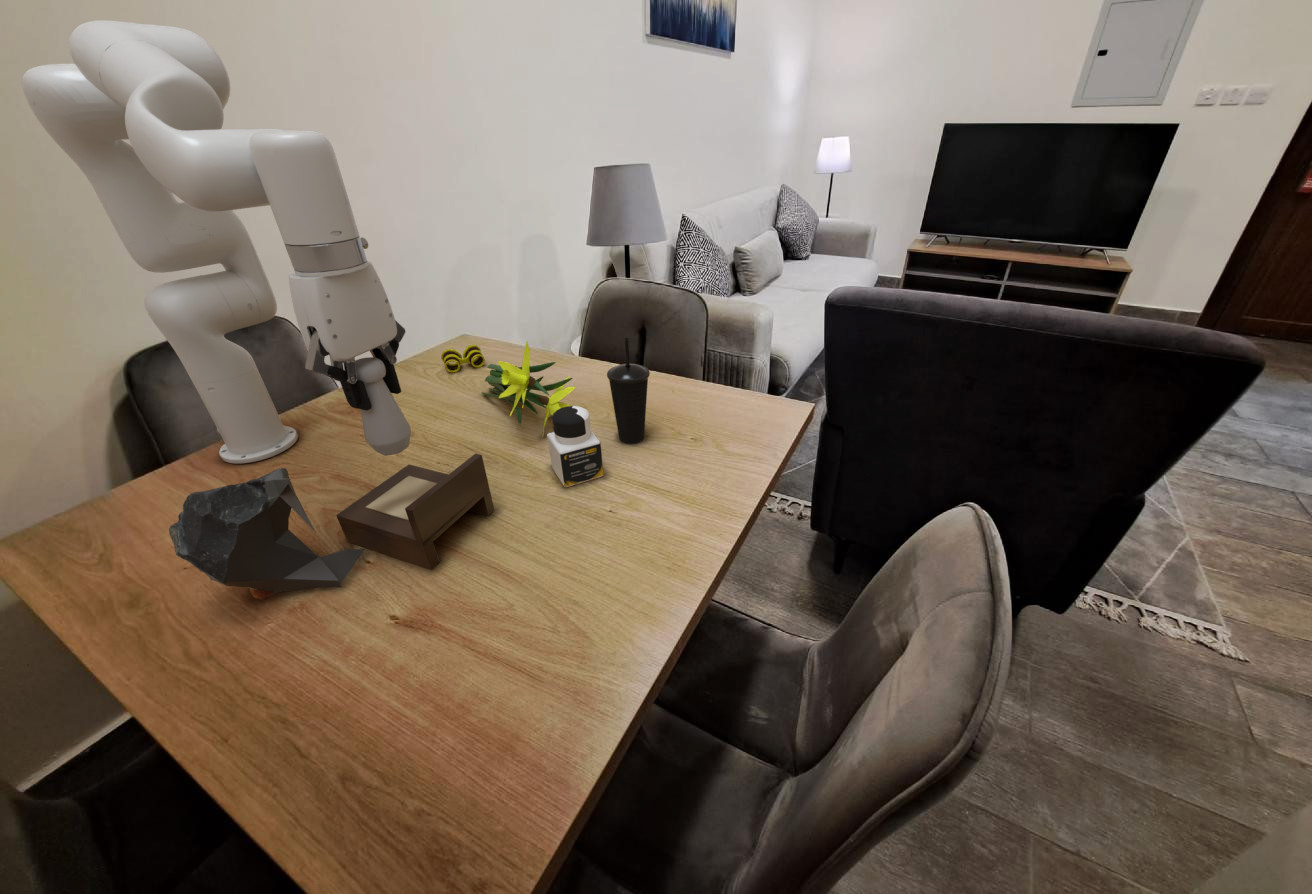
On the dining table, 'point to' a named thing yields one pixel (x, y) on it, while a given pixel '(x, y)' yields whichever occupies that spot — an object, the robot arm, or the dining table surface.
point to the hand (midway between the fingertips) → (376, 398)
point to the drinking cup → (629, 398)
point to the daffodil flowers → (526, 386)
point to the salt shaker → (381, 411)
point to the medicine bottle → (574, 447)
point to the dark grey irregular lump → (255, 539)
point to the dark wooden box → (416, 510)
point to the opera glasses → (468, 357)
